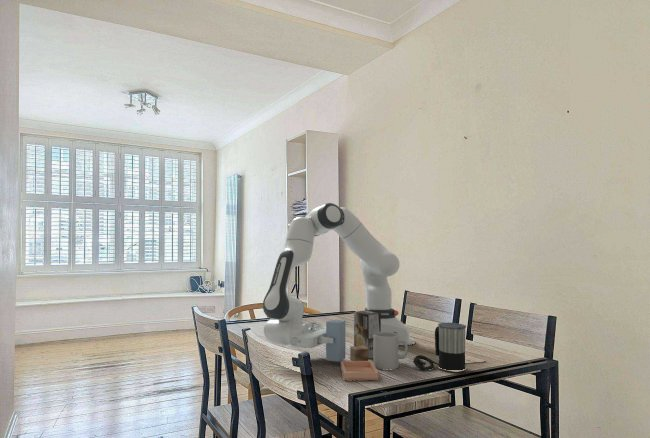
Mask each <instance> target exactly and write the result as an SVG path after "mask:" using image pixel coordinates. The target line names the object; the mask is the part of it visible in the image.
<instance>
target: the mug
mask: <svg viewBox="0 0 650 438" xmlns="http://www.w3.org/2000/svg"><path fill="white" fill-rule="evenodd" d="M400 343H403V344H404V345H403V346H404V352H403V353H402V354H401V353H399V345H398V344H400ZM408 352H409V345H407V342H406V340H404V339H400V338H398V334H395V333H390V332H378V333H374V335H373V358H372V362H373V364H374V365H375V367H376V368H377V370H379V369H385V370H384V371H390V370H389V369H395V370H397V369H398V368H399V360H403V359H406V358H407V356H408V354H409V353H408ZM396 368H397V369H396ZM386 369H388V370H386Z"/></svg>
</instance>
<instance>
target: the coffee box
mask: <svg viewBox="0 0 650 438" xmlns="http://www.w3.org/2000/svg"><path fill="white" fill-rule="evenodd" d="M378 332H381V313H376V312H371V311H365V310H358V311H353V346H365V347H366V348H368V359H373V335H374V333H378Z"/></svg>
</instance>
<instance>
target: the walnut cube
mask: <svg viewBox="0 0 650 438" xmlns="http://www.w3.org/2000/svg"><path fill="white" fill-rule="evenodd" d="M349 348H350V349H349V351H350V355H349V356H350V357H349V359H350V360H349V361H369V358H368V348H366V347H365V346H354V345H352V346H350V347H349Z"/></svg>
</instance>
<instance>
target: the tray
mask: <svg viewBox="0 0 650 438" xmlns="http://www.w3.org/2000/svg"><path fill="white" fill-rule="evenodd" d="M340 372H341V376H342V381H344V380H347V381H346V382H356V381H355V380H358V381H357V382H360V381H359V380H378V381H379V370H378V369H376V367H375V365H374V364H373V360H368V361H351V360H341V361H340ZM352 380H353V381H352Z"/></svg>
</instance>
